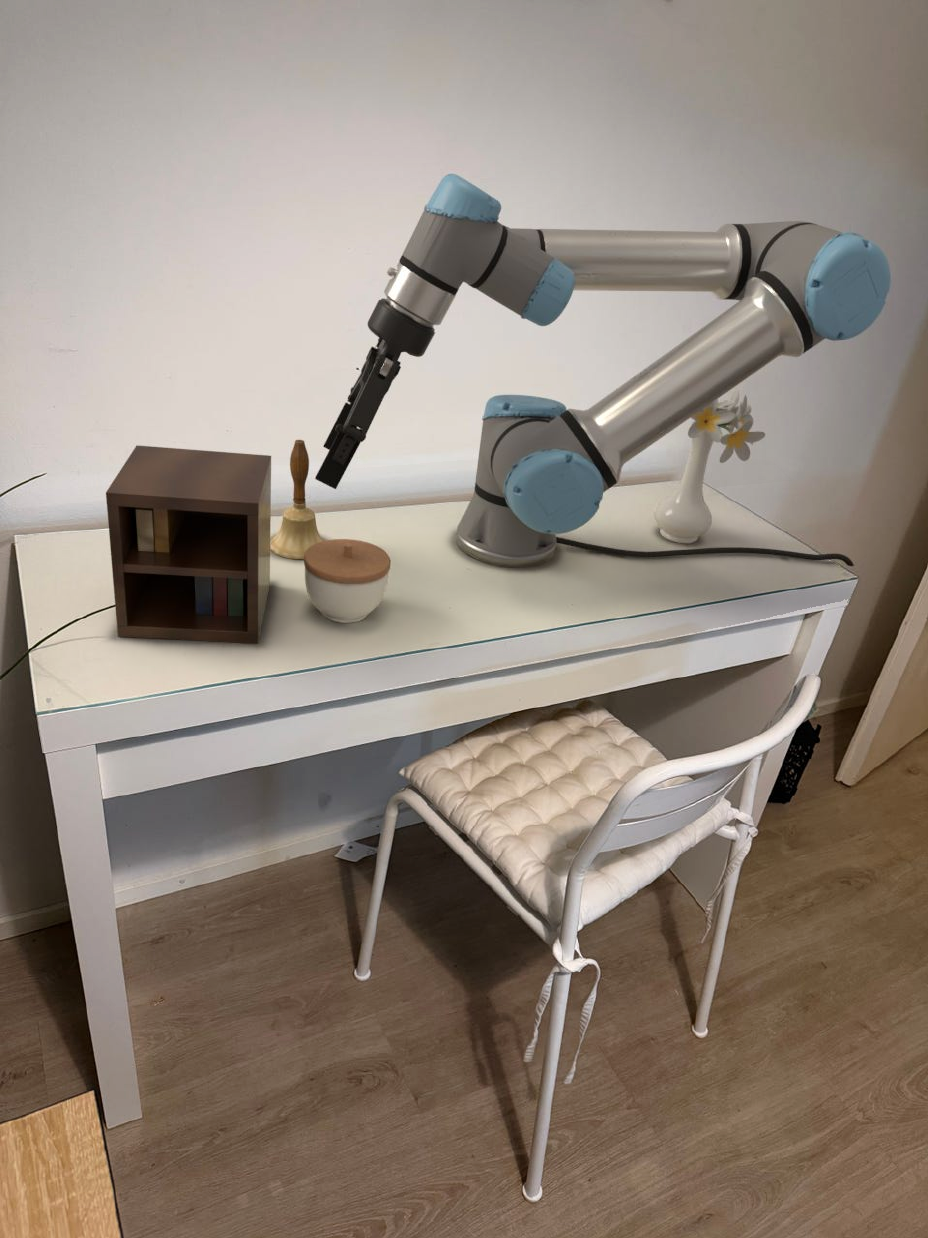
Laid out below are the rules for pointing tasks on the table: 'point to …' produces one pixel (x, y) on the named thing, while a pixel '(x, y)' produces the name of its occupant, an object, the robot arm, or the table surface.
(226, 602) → the bookshelf
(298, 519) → the hand bell
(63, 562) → the table surface
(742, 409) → the flower vase
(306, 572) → the trinket box
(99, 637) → the table surface
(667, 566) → the table surface
